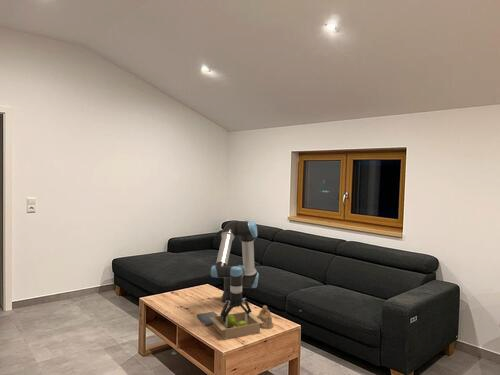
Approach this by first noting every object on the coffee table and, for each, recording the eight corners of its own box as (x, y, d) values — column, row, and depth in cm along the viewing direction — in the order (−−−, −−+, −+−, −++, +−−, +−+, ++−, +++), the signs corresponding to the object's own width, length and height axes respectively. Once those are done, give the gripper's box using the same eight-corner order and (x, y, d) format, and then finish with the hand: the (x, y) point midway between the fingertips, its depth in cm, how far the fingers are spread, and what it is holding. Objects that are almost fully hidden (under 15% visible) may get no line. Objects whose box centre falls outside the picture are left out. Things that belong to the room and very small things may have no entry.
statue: (276, 305, 257) (273, 306, 248) (274, 328, 254) (272, 329, 244) (258, 304, 260) (254, 304, 251) (256, 326, 257) (253, 327, 247)
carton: (248, 319, 260) (248, 311, 260) (263, 332, 240) (263, 322, 240) (209, 326, 248) (209, 317, 248) (221, 340, 229) (221, 330, 229)
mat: (213, 313, 271) (213, 311, 271) (223, 323, 254) (223, 321, 254) (196, 316, 266) (196, 314, 266) (205, 326, 249) (205, 324, 249)
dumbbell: (223, 327, 249) (223, 315, 248) (233, 324, 253) (233, 313, 253) (238, 335, 236) (238, 324, 235) (248, 332, 240) (248, 320, 240)
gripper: (251, 287, 252) (251, 320, 253) (215, 292, 242) (215, 326, 242) (256, 291, 245) (256, 324, 246) (219, 295, 235) (219, 330, 235)
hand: (236, 325), depth 244 cm, fingers open, 13 cm apart
